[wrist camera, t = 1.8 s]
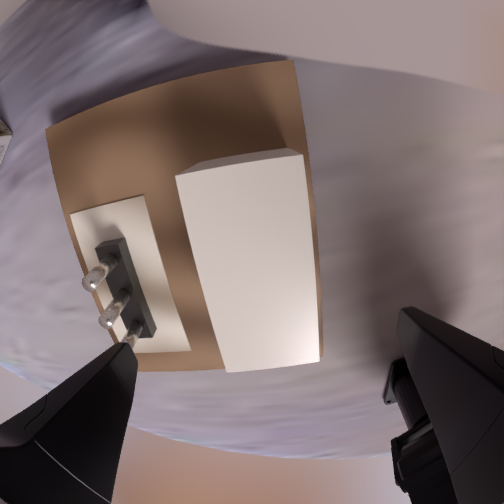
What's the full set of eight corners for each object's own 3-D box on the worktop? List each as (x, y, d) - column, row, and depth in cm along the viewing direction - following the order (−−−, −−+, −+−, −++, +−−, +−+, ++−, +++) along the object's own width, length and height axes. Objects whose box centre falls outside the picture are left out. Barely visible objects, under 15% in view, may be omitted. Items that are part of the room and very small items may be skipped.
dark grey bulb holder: (157, 327, 20) (140, 367, 16) (136, 328, 20) (116, 367, 16) (125, 236, 17) (95, 265, 13) (102, 241, 17) (70, 269, 14)
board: (319, 343, 22) (323, 357, 21) (134, 359, 23) (129, 372, 22) (289, 65, 15) (293, 59, 13) (57, 128, 16) (44, 129, 14)
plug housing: (305, 305, 19) (319, 361, 14) (233, 314, 19) (226, 372, 14) (287, 147, 15) (302, 154, 10) (200, 161, 16) (175, 175, 11)
